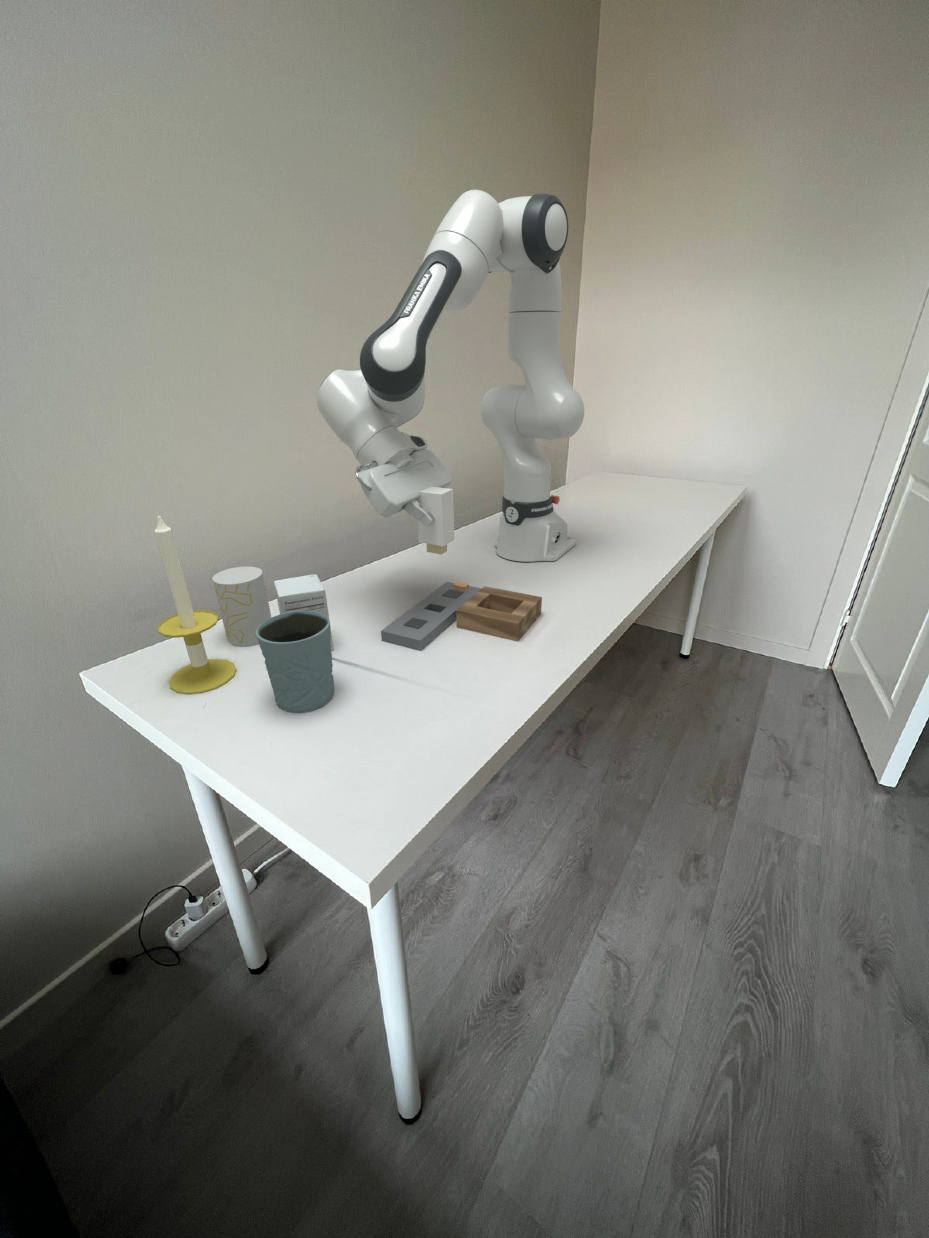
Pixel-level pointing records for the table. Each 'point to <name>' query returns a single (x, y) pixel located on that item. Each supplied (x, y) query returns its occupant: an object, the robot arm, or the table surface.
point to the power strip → (428, 616)
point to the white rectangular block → (437, 519)
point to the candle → (189, 627)
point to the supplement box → (302, 596)
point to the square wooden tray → (499, 613)
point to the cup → (242, 603)
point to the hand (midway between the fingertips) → (439, 519)
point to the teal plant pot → (298, 659)
